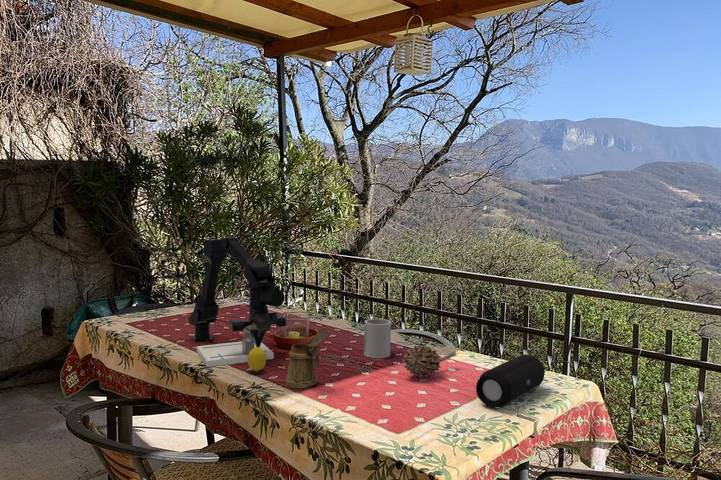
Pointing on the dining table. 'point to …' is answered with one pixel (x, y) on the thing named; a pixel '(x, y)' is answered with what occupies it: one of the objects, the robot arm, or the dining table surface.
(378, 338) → the cup
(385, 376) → the dining table surface
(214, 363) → the slotted white panel
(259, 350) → the lemon
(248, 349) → the fader
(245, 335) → the fader
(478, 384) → the portable speaker
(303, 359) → the wooden mug
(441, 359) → the pine cone
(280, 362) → the dining table surface
